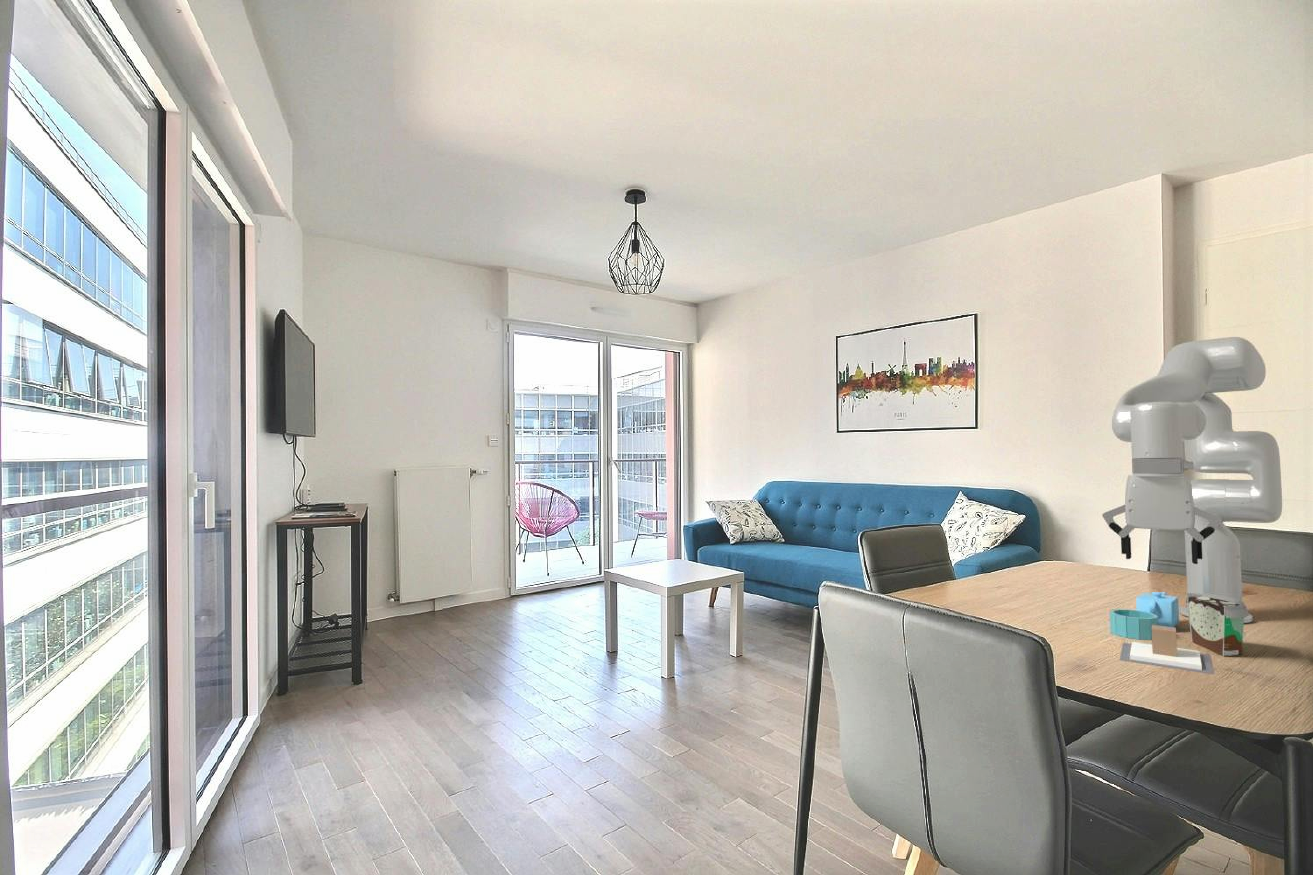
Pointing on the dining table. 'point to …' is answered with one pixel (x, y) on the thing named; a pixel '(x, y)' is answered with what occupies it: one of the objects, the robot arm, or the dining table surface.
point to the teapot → (1160, 607)
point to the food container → (1217, 623)
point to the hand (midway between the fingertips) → (1160, 560)
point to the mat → (1204, 661)
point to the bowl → (1132, 623)
